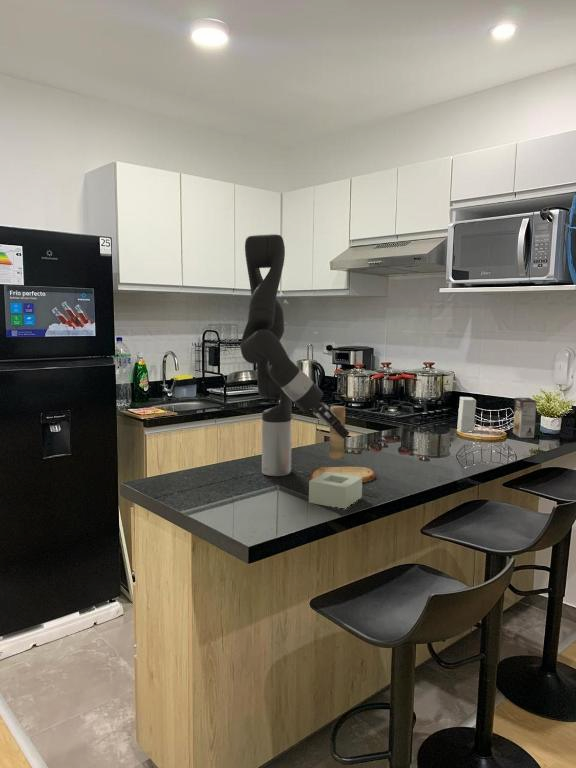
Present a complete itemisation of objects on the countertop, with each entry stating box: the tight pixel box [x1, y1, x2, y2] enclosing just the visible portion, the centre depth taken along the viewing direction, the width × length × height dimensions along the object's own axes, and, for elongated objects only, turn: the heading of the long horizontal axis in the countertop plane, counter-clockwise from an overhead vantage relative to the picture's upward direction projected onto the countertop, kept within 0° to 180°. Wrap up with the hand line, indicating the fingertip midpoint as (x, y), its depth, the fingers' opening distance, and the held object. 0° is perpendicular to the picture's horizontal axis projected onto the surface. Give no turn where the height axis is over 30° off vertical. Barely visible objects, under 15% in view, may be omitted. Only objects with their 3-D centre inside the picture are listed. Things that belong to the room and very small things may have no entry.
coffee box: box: [512, 397, 537, 439], centre depth 249 cm, size 9×6×16 cm
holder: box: [308, 472, 363, 510], centre depth 159 cm, size 11×11×6 cm
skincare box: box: [456, 396, 477, 433], centre depth 258 cm, size 8×6×15 cm
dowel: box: [328, 405, 346, 460], centre depth 157 cm, size 4×4×14 cm
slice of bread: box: [310, 466, 376, 483], centre depth 180 cm, size 18×18×4 cm
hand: (344, 434), depth 157 cm, fingers closed on dowel, 4 cm apart
